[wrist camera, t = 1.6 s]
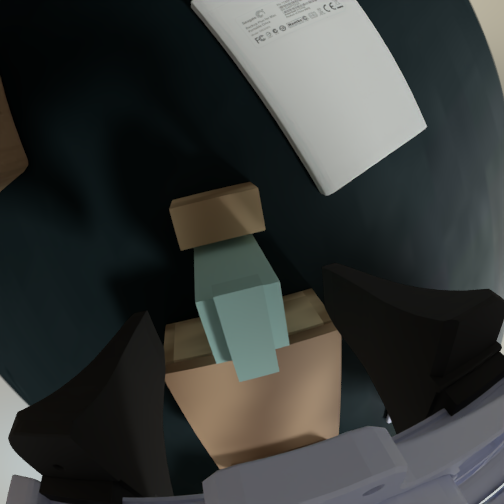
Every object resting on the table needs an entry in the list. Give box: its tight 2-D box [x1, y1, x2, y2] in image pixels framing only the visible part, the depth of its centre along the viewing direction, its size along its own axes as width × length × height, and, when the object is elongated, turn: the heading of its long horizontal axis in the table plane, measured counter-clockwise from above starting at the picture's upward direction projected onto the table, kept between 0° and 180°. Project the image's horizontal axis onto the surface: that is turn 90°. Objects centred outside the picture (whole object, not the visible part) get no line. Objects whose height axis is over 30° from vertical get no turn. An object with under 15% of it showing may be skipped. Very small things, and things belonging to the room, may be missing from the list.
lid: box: [165, 322, 341, 469], centre depth 15 cm, size 9×12×3 cm
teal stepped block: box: [194, 234, 290, 382], centre depth 13 cm, size 3×4×7 cm
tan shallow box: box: [164, 182, 332, 365], centre depth 17 cm, size 9×19×3 cm, turn 11°
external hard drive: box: [191, 0, 426, 196], centre depth 13 cm, size 2×8×12 cm
